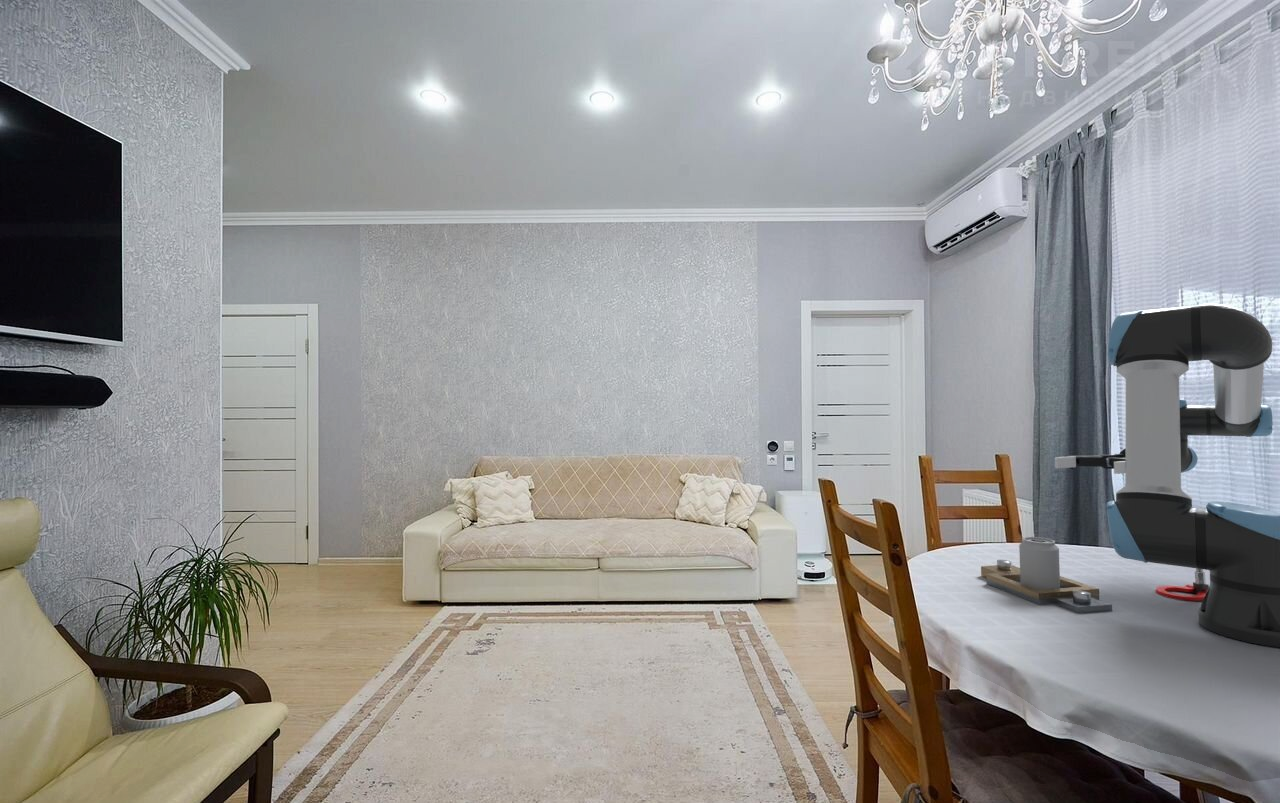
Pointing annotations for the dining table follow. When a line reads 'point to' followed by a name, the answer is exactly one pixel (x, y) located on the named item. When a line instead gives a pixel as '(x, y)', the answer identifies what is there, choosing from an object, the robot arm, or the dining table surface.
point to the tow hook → (1187, 588)
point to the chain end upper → (1008, 573)
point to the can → (1039, 563)
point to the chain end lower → (1063, 599)
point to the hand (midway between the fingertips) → (1084, 465)
